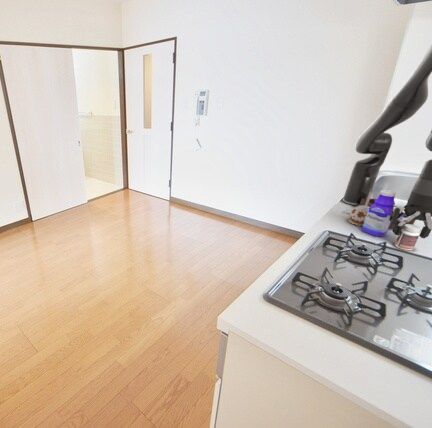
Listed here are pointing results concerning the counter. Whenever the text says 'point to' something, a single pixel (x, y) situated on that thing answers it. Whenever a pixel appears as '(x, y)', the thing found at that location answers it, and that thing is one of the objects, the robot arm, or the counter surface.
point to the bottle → (379, 214)
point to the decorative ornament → (360, 212)
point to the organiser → (391, 222)
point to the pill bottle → (408, 237)
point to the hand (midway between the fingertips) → (408, 235)
